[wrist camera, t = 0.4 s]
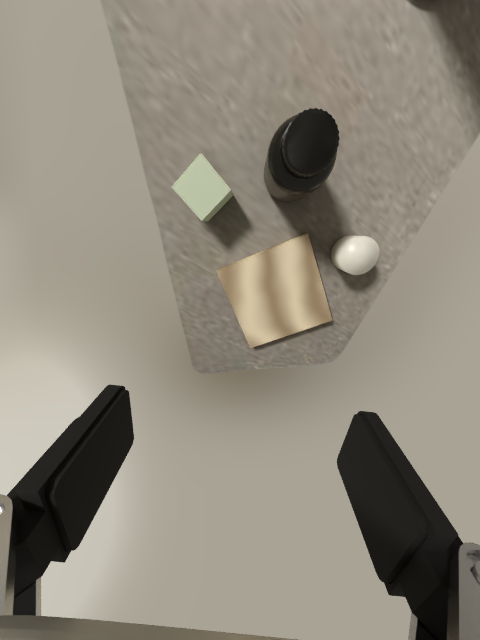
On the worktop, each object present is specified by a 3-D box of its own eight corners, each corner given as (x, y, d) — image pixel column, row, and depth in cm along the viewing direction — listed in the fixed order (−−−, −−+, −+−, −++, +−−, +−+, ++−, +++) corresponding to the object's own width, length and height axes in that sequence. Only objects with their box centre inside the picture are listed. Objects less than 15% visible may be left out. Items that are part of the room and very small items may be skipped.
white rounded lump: (361, 229, 33) (375, 230, 29) (367, 262, 35) (382, 266, 31) (326, 243, 34) (336, 245, 30) (334, 274, 35) (345, 280, 32)
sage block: (207, 163, 31) (200, 152, 26) (233, 195, 32) (230, 190, 27) (182, 192, 32) (171, 187, 27) (208, 221, 33) (201, 220, 29)
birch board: (305, 233, 33) (308, 233, 32) (329, 316, 38) (332, 320, 37) (217, 269, 36) (216, 271, 34) (250, 344, 40) (250, 348, 39)
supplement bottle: (325, 161, 30) (370, 124, 19) (295, 212, 32) (320, 205, 21) (280, 130, 29) (301, 71, 18) (253, 185, 31) (256, 163, 20)
